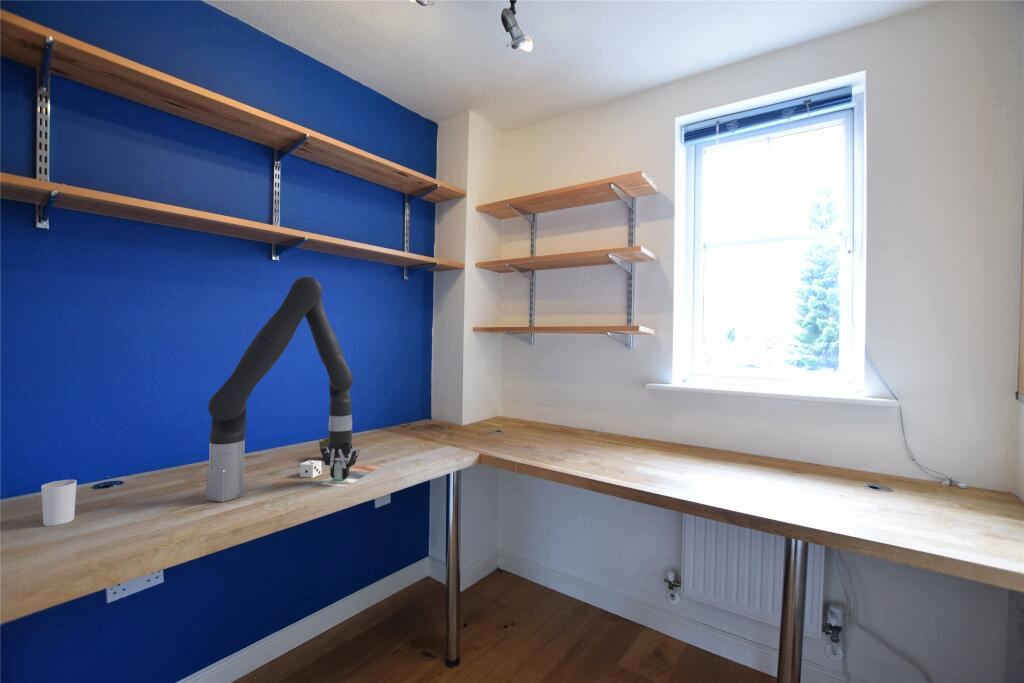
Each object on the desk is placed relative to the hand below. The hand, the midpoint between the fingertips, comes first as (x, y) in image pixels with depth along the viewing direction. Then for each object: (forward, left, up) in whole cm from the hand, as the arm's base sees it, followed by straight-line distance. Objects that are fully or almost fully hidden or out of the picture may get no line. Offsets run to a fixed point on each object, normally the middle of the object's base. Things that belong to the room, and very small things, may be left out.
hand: (339, 477), depth 153 cm
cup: (+25, +21, -2) cm, 33 cm away
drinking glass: (-46, +53, -2) cm, 70 cm away
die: (+4, +14, -2) cm, 15 cm away
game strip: (+8, 0, -2) cm, 8 cm away
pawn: (0, 0, -1) cm, 1 cm away
